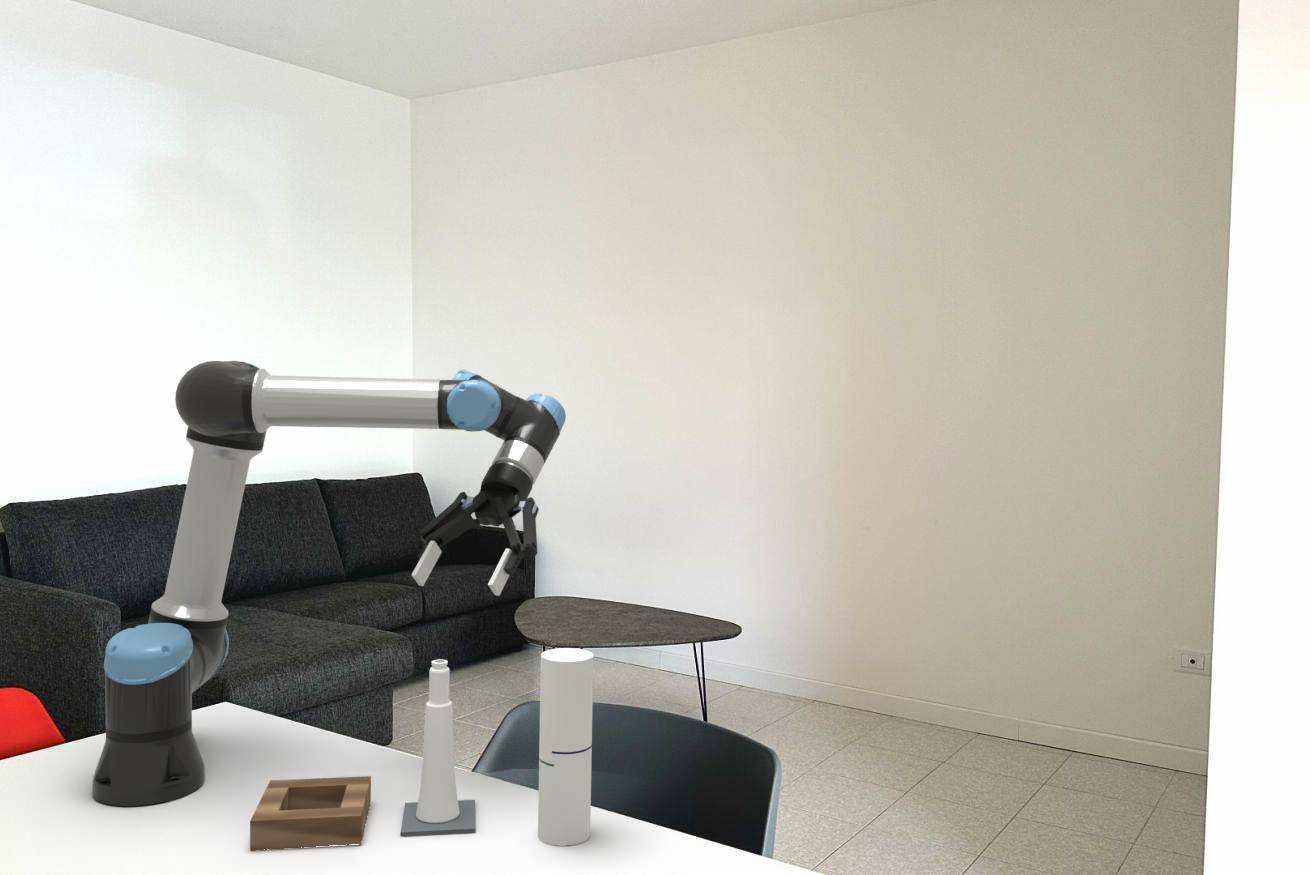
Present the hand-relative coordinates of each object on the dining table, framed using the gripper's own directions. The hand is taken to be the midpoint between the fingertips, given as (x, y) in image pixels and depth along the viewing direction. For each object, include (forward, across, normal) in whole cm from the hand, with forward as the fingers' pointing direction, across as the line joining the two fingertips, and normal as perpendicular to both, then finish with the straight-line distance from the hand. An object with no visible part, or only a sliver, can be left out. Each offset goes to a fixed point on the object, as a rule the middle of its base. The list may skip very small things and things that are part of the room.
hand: (454, 585), depth 155 cm
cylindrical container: (+25, -21, -20) cm, 38 cm away
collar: (+35, +11, -10) cm, 38 cm away
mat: (+28, -3, -17) cm, 33 cm away
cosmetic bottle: (+27, -3, -17) cm, 32 cm away
